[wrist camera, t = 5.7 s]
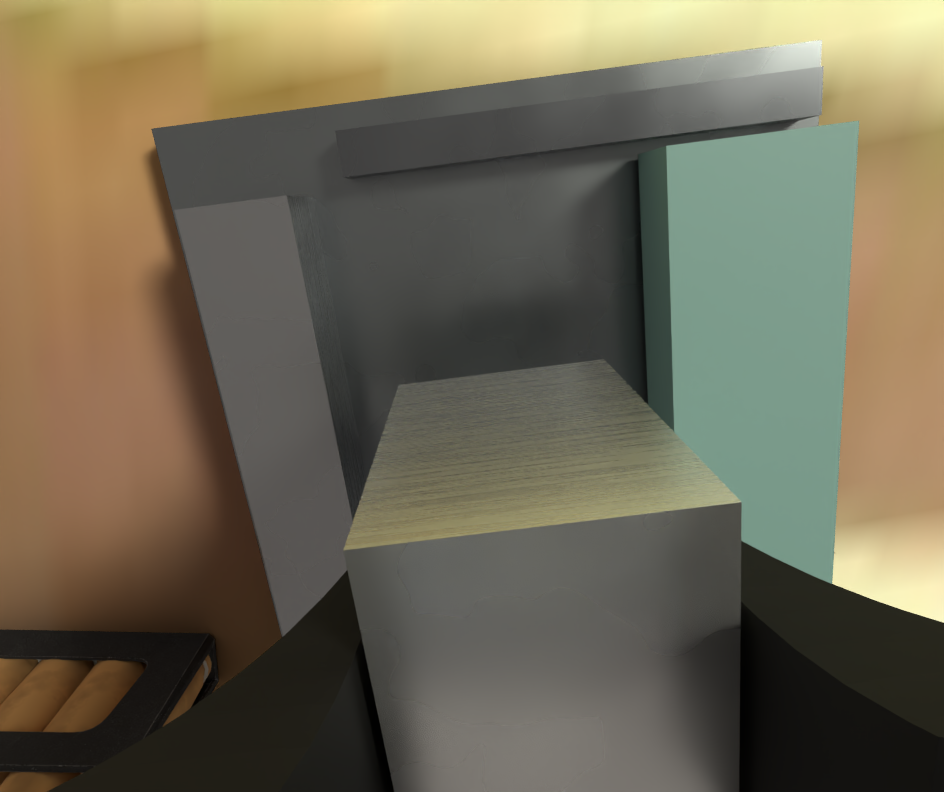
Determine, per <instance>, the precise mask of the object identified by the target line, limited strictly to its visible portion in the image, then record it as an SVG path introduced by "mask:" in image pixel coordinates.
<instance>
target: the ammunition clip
mask: <svg viewBox="0 0 944 792" xmlns="http://www.w3.org/2000/svg"><path fill="white" fill-rule="evenodd" d="M218 681H219V679H218V669H217V659H216V649H215V639H214V638H213V637H212V636H211V635H210V634H205V633H152V632H99V631H47V630H0V792H47V791H49V790H51V789H53V788H55V787H57V786H59V785H61V784H62V783H64V782H66V781H68V780H70V779H72V778H74V777H76V776H78V775H80V774H82V773H84V772H86V771H88V770H90V769H91V768H93V767H95V766H97V765H99V764H101V763H102V762H104V761H106V760H108V759H110V758H111V757H113V756H115V755H116V754H118V753H120V752H122V751H123V750H125V749H127V748H128V747H130V746H132V745H134V744H135V743H137V742H139V741H140V740H142V739H144V738H145V737H147V736H149V735H150V734H152V733H153V732H155V731H157V730H158V729H160V728H161V727H163V726H165V725H166V724H168V723H169V722H171V721H173V720H174V719H176V718H177V717H179V716H180V715H182V714H183V713H185V712H186V711H187V710H189V709H190V708H192V707H193V706H195V705H196V704H197V703H199V702H200V701H202V700H203V699H204V698H206V697H207V696H209V695H210V694H211V693H212V691H213V690H214V688H215V686H216V684H217V683H218Z"/></svg>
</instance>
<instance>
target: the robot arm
mask: <svg viewBox="0 0 944 792" xmlns="http://www.w3.org/2000/svg"><path fill="white" fill-rule="evenodd" d="M47 792H394V788H393V783H392V779H391V774H390V769H389V764H388V760H387V755H386V750H385V745H384V741H383V736H382V731H381V726H380V722H379V717H378V712H377V707H376V703H375V698H374V693H373V689H372V684H371V679H370V674H369V670H368V665H367V660H366V655H365V651H364V646H363V641H362V636H361V632H360V627H359V622H358V618H357V613H356V608H355V603H354V599H353V594H352V589H351V584H350V580H349V575H348V570H347V571H346V572H345V573H344V574H343V575H342V576H341V578H340V579H339V580H338V581H337V582H336V583H335V584H334V585H333V587H332V588H331V589H330V590H329V591H328V592H327V593H326V594H325V595H324V597H323V598H322V599H321V600H320V601H319V602H318V603H317V604H316V605H315V606H314V607H313V608H312V609H311V610H310V611H309V612H308V613H307V614H306V615H305V616H304V617H303V618H302V619H301V620H300V621H299V622H298V623H297V624H296V625H295V626H294V627H293V628H292V629H291V630H290V631H289V632H287V633H286V634H285V635H284V636H283V637H282V638H281V639H280V640H279V641H278V642H276V643H275V644H274V645H273V646H272V647H271V648H270V649H268V650H267V651H266V652H265V653H264V654H262V655H261V656H260V657H259V658H258V659H256V660H255V661H254V662H253V663H251V664H250V665H249V666H248V667H247V668H245V669H244V670H243V671H242V672H240V673H239V674H238V675H236V676H235V677H234V678H233V679H231V680H230V681H228V682H227V683H226V684H224V685H223V686H221V687H220V688H218V689H217V690H216V691H214V692H213V693H211V694H210V695H209V696H207V697H206V698H204V699H203V700H202V701H200V702H199V703H197V704H196V705H195V706H193V707H192V708H190V709H189V710H187V711H186V712H185V713H183V714H182V715H180V716H179V717H177V718H176V719H174V720H173V721H171V722H169V723H168V724H166V725H165V726H163V727H161V728H160V729H158V730H157V731H155V732H153V733H152V734H150V735H149V736H147V737H145V738H144V739H142V740H140V741H139V742H137V743H135V744H134V745H132V746H130V747H128V748H127V749H125V750H123V751H122V752H120V753H118V754H116V755H115V756H113V757H111V758H110V759H108V760H106V761H104V762H102V763H101V764H99V765H97V766H95V767H93V768H91V769H90V770H88V771H86V772H84V773H82V774H80V775H78V776H76V777H74V778H72V779H70V780H68V781H66V782H64V783H62V784H61V785H59V786H57V787H55V788H53V789H51V790H49V791H47ZM739 792H944V623H942V622H939V621H936V620H933V619H929V618H926V617H923V616H920V615H917V614H913V613H910V612H907V611H904V610H901V609H898V608H895V607H892V606H889V605H886V604H883V603H880V602H877V601H875V600H872V599H869V598H867V597H864V596H862V595H859V594H856V593H854V592H851V591H849V590H846V589H844V588H841V587H838V586H836V585H833V584H831V583H828V582H826V581H824V580H821V579H819V578H817V577H814V576H812V575H810V574H808V573H805V572H803V571H801V570H799V569H797V568H795V567H793V566H791V565H789V564H786V563H784V562H782V561H780V560H778V559H776V558H774V557H772V556H770V555H768V554H766V553H764V552H762V551H760V550H758V549H756V548H754V547H752V546H750V545H749V544H747V543H745V542H743V541H741V633H740V753H739Z"/></svg>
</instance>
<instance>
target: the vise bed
mask: <svg viewBox="0 0 944 792" xmlns="http://www.w3.org/2000/svg"><path fill="white" fill-rule="evenodd" d="M821 50H822V40H818V41H810V42H803V43H795V44H788V45H780V46H773V47H765V48H757V49H750V50H742V51H735V52H727V53H720V54H712V55H705V56H697V57H690V58H682V59H674V60H667V61H659V62H652V63H644V64H637V65H629V66H622V67H614V68H607V69H599V70H592V71H584V72H576V73H569V74H561V75H554V76H546V77H539V78H531V79H524V80H516V81H509V82H501V83H493V84H486V85H478V86H471V87H463V88H456V89H448V90H441V91H433V92H426V93H418V94H411V95H403V96H395V97H388V98H380V99H373V100H365V101H358V102H350V103H343V104H335V105H328V106H320V107H312V108H305V109H297V110H290V111H282V112H275V113H267V114H260V115H252V116H245V117H237V118H230V119H222V120H214V121H207V122H199V123H192V124H184V125H177V126H169V127H162V128H154V129H152V133H153V137H154V141H155V145H156V148H157V152H158V156H159V160H160V164H161V168H162V172H163V176H164V180H165V184H166V187H167V191H168V195H169V199H170V203H171V207H172V211H173V215H174V219H175V222H176V226H177V230H178V234H179V238H180V242H181V246H182V250H183V254H184V257H185V261H186V265H187V269H188V273H189V277H190V281H191V285H192V289H193V293H194V296H195V300H196V304H197V308H198V312H199V316H200V320H201V324H202V328H203V331H204V335H205V339H206V343H207V347H208V351H209V355H210V359H211V363H212V366H213V370H214V374H215V378H216V382H217V386H218V390H219V394H220V398H221V402H222V405H223V409H224V413H225V417H226V421H227V425H228V429H229V433H230V437H231V440H232V444H233V448H234V452H235V456H236V460H237V464H238V468H239V472H240V475H241V479H242V483H243V487H244V491H245V495H246V499H247V503H248V507H249V511H250V514H251V518H252V522H253V526H254V530H255V534H256V538H257V542H258V546H259V549H260V553H261V557H262V561H263V565H264V569H265V573H266V577H267V581H268V584H269V588H270V592H271V596H272V600H273V604H274V608H275V612H276V616H277V620H278V623H279V627H280V631H281V635H282V637H283V636H284V635H285V634H286V633H287V632H289V631H290V630H291V629H292V628H293V627H294V626H295V625H296V624H297V623H298V622H299V621H300V620H301V619H302V618H303V617H304V616H305V615H306V614H307V613H308V612H309V611H310V610H311V609H312V608H313V607H314V606H315V605H316V604H317V603H318V602H319V601H320V600H321V599H322V598H323V597H324V595H325V594H326V593H327V592H328V591H329V590H330V589H331V588H332V587H333V585H334V584H335V583H336V582H337V581H338V580H339V579H340V578H341V576H342V575H343V574H344V573H345V572H346V571H347V565H346V561H345V556H344V551H343V550H344V547H345V544H346V541H347V538H348V535H349V532H350V529H351V526H352V523H353V520H354V517H355V514H356V511H357V508H358V505H359V502H360V499H361V496H362V493H363V490H364V487H365V484H366V481H367V478H368V475H369V472H370V469H371V466H372V463H373V460H374V457H375V454H376V451H377V448H378V445H379V442H380V439H381V436H382V433H383V430H384V427H385V424H386V421H387V418H388V415H389V412H390V409H391V406H392V403H393V400H394V397H395V395H396V392H397V389H398V386H399V385H401V384H409V383H417V382H425V381H433V380H441V379H449V378H457V377H465V376H473V375H481V374H489V373H497V372H505V371H513V370H521V369H530V368H537V367H546V366H554V365H562V364H570V363H578V362H586V361H594V360H602V359H604V360H605V361H606V362H607V363H608V364H609V365H610V366H611V367H612V368H613V369H614V370H615V371H616V372H617V373H618V374H619V375H620V376H621V378H622V379H623V380H624V381H625V382H626V383H627V384H628V385H629V386H630V387H631V388H632V389H633V390H634V391H635V392H636V393H637V394H638V395H639V396H640V397H641V398H642V399H643V400H644V401H645V402H646V403H647V404H648V388H647V364H646V339H645V314H644V289H643V264H642V240H641V215H640V190H639V165H638V154H641V153H644V152H648V151H651V150H654V149H658V148H661V147H664V146H669V145H677V144H684V143H692V142H700V141H708V140H715V139H723V138H731V137H738V136H746V135H754V134H761V133H769V132H777V131H784V130H792V129H800V128H807V127H815V126H818V124H819V115H821V114H822V90H823V66H822V67H821Z"/></svg>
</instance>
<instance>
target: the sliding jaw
mask: <svg viewBox="0 0 944 792" xmlns="http://www.w3.org/2000/svg"><path fill="white" fill-rule="evenodd" d="M858 132H859V121H853V122H846V123H838V124H830V125H823V126H815V127H807V128H800V129H792V130H784V131H777V132H769V133H761V134H754V135H746V136H738V137H731V138H723V139H715V140H708V141H700V142H692V143H684V144H677V145H669V146H664V147H661V148H658V149H654V150H651V151H648V152H644V153H641V154H638V165H639V190H640V215H641V240H642V264H643V289H644V314H645V339H646V364H647V388H648V406H649V407H650V408H651V409H652V410H653V411H654V412H655V413H656V414H657V415H658V416H659V417H660V418H661V419H662V420H663V421H664V422H665V423H666V424H667V425H668V426H669V427H670V428H671V429H672V430H673V431H674V433H675V434H676V435H677V436H678V437H679V438H680V439H681V440H682V441H683V442H684V443H685V444H686V445H687V446H688V447H689V448H690V449H691V450H692V451H693V452H694V453H695V454H696V455H697V456H698V457H699V458H700V460H701V461H702V462H703V463H704V464H705V465H706V466H707V467H708V468H709V469H710V470H711V471H712V472H713V473H714V474H715V475H716V476H717V477H718V478H719V479H720V480H721V481H722V482H723V483H724V484H725V485H726V486H727V488H728V489H729V490H730V491H731V492H732V493H733V494H734V495H735V496H736V497H737V498H738V499H739V500H740V501H741V502H742V513H741V541H743V542H745V543H747V544H749V545H750V546H752V547H754V548H756V549H758V550H760V551H762V552H764V553H766V554H768V555H770V556H772V557H774V558H776V559H778V560H780V561H782V562H784V563H786V564H789V565H791V566H793V567H795V568H797V569H799V570H801V571H803V572H805V573H808V574H810V575H812V576H814V577H817V578H819V579H821V580H824V581H826V582H828V583H831V584H832V576H833V559H834V542H835V525H836V508H837V491H838V474H839V456H840V439H841V422H842V405H843V388H844V371H845V354H846V337H847V320H848V303H849V286H850V269H851V252H852V234H853V217H854V200H855V183H856V166H857V149H858Z"/></svg>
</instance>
